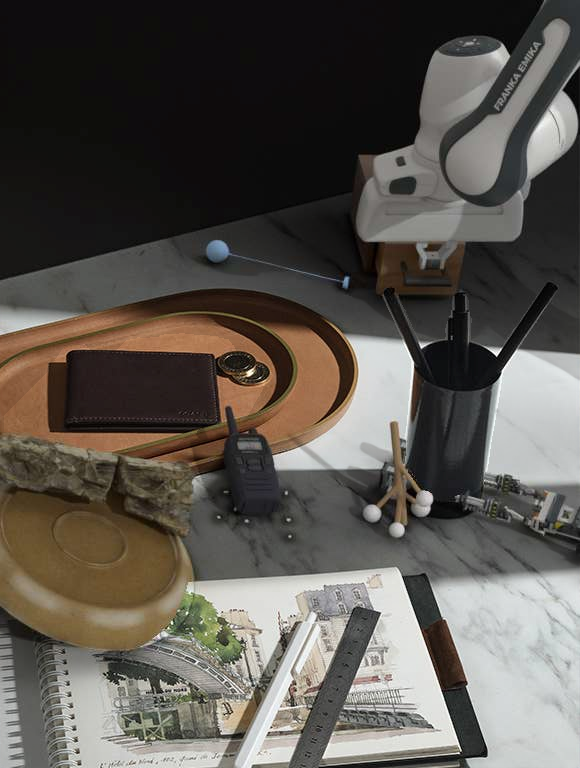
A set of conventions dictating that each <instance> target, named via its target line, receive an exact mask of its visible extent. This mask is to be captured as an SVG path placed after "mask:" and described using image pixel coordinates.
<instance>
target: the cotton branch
mask: <svg viewBox="0 0 580 768" xmlns="http://www.w3.org/2000/svg"><path fill="white" fill-rule="evenodd" d="M399 427H400V426H399V421H397V420H395V421H390V422H389V429H390V440H391V450H392V463H393V462H394V464H393V466H394V479H393V484H392V486H390V487H389V488H388V489H387V490H386V494H385V495H384V496H383V497H382V498H381V499H380V500H379V501H378V502H377V503H376V504H368V505H366V506H365V507H364V508H363V510H362V515H363V518H364V519H365V521H367V522H369V523H376V522H378V521H379V520H380V518H381V516H382V511H381V508H382V507H383V506H384V505H385V504H386V502H387V501H388V500H389V499H391V500H396V508H395V515H394V521H393V523H391V524H390V526H389V527H388V531H389V534H390V535H391V537H393V538H395V539H396V538H401V537H403V535H404V534H405V526H407V525H408V514H407V513H408V512H407V503H406V500H407V501H408V502H410V503H411V505H410V511H411V513H412V514H413V515H414V516H416V517H418V518H423V517H426V516H427V515H429V514H430V511H431V505H432V504H433V502H434V496H433V493H430V492H429V491H425V490H421V489H420V488H419V487H418V485H417V484H416V482H415V481H414V480H413V478H412V477H411V475H410V474H409V473H408V471H407V470H408V469H407V468H406V466H405V464H403V463H402V458H401V447H400V438H401V437H400V428H399ZM406 469H407V470H406ZM403 474H404V475H405V477H406V478H407V480H408V481H409V483H410V484H411V485H412V487H411V488H413V490H414V491H415V493H416V497H415V498H414V497H413V496H412V495H410V494H409V493H408V492H407V490H406V491H405V488H404V480H403Z"/></svg>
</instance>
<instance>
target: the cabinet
mask: <svg viewBox="0 0 580 768" xmlns="http://www.w3.org/2000/svg"><path fill="white" fill-rule="evenodd" d="M379 155H380V154H357V161H356V168H355V174H354V180H353V181H354V182H353V188H352V196H351V203H350V210H349V216H350V221H351V224H352V228H353V231H354V236H355V240H356V243H357V247H358V251H359V255H360V259H361V264H362V268H363V271H364V273H365V274H378V273H377V269H376V265H375V262H374V258H373V253H374V247H375V242H364V241H363V240H362V239H361V238H360V236H359V235H358V233H357V229H356V216H357V211H358V206H359V202H360V198H361V195H362V191H363V188H364V186H365V184H366V183H367V181H368V180H369V179H370V178H372V177H373V160H374V158H375V157H377V156H379Z"/></svg>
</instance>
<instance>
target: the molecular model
mask: <svg viewBox="0 0 580 768" xmlns="http://www.w3.org/2000/svg"><path fill="white" fill-rule="evenodd" d="M205 255H206V257H207V258H208V260H209V261H211V262H212V263H215V264H217V263H222V262H224V261H225V260H226V259H228V257H229V256H233V257H238V258H242V259H246V260H250V261H255V262H258V263H263V264H267V265H271V266H274V267H278V268H282V269H287V270H291V271H294V272H298V273H301V274H307V275H311V276H315V277H319V278H322V279H327V280H332V281H336V282H339V283H342V289H344V290H347V289H348V287H349V283H350V278H351V277H349V276H344V279H343V280H339V279H334V278H330V277H325V276H321V275H317V274H314V273H313V274H312V273H309V272H305V271H300V270H298V269H297V270H296V269H292V268H288V267H284V266H280V265H277V264H273V263H269V262H265V261H262V260H261V261H260V260H257V259H252V258H248V257H244V256H239V255H235V254H233V253H230V251H229V247H228V245H227V244H226V243H225V242H224V241H223V240H220V239H219V240H218V239H215V240H212V241H210V242H209V243H208V245H207V246H206V249H205Z"/></svg>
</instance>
